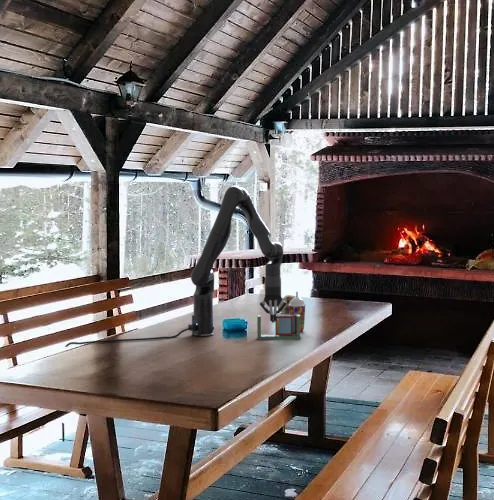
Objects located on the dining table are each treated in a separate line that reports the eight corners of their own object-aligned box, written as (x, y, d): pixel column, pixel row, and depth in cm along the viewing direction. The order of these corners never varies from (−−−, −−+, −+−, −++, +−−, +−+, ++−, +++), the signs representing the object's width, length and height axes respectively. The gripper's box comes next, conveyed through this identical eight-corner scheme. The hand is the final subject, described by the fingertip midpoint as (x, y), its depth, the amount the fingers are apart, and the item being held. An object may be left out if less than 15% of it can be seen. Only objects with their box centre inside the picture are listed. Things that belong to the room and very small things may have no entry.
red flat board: (292, 336, 341) (292, 317, 340) (275, 336, 340) (275, 317, 339) (292, 335, 345) (292, 315, 344) (275, 335, 344) (275, 315, 344)
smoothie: (303, 333, 357) (303, 293, 355) (286, 333, 358) (286, 292, 357) (307, 330, 365) (306, 290, 363) (290, 330, 367) (290, 290, 365)
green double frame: (300, 339, 344) (300, 316, 343) (257, 339, 343) (257, 316, 342) (299, 337, 348) (299, 314, 347) (257, 337, 347) (257, 314, 346)
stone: (276, 309, 430) (276, 292, 429) (296, 309, 431) (296, 292, 430) (277, 314, 413) (277, 296, 412) (298, 314, 414) (298, 296, 413)
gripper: (287, 284, 343) (287, 320, 344) (258, 284, 342) (259, 321, 344) (287, 286, 335) (287, 323, 337) (258, 286, 335) (258, 323, 336)
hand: (273, 322), depth 340 cm, fingers closed
